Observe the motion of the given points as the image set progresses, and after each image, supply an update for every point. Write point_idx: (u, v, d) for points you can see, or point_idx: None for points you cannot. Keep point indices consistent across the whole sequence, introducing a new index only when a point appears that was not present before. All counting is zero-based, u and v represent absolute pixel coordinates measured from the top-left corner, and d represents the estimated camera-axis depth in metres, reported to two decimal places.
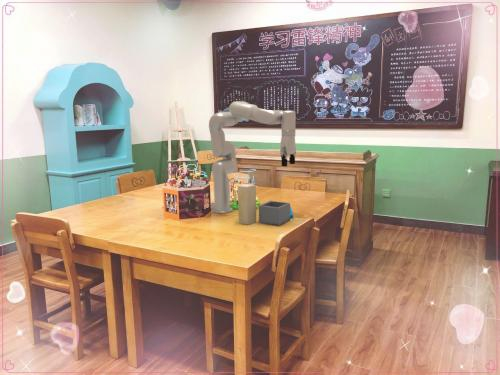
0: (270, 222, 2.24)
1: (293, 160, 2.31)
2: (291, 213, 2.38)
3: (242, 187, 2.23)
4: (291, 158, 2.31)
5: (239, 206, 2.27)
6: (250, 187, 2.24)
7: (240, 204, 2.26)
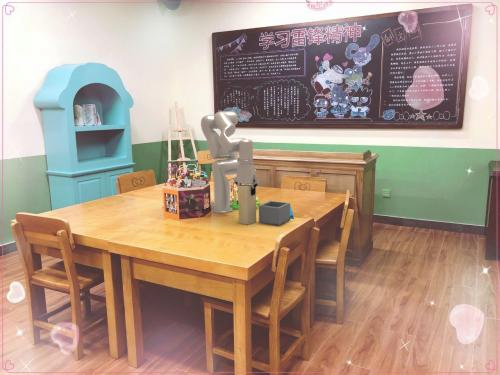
0: (270, 222, 2.24)
1: None
2: (291, 213, 2.38)
3: (242, 187, 2.23)
4: None
5: (239, 206, 2.27)
6: (250, 187, 2.23)
7: (240, 204, 2.26)
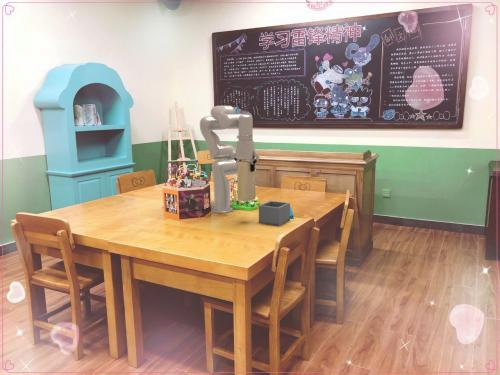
0: (270, 222, 2.24)
1: None
2: (291, 213, 2.38)
3: (241, 163, 2.21)
4: None
5: (238, 182, 2.25)
6: (249, 163, 2.21)
7: (239, 181, 2.24)
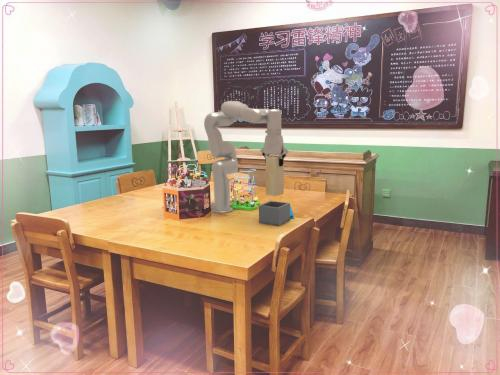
0: (270, 222, 2.24)
1: None
2: (291, 213, 2.37)
3: (270, 158, 2.20)
4: None
5: (267, 177, 2.24)
6: (278, 158, 2.21)
7: (268, 176, 2.23)
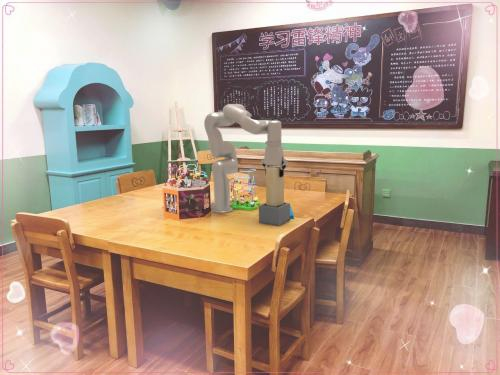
0: (270, 222, 2.24)
1: None
2: (291, 213, 2.37)
3: (270, 169, 2.21)
4: None
5: (267, 188, 2.25)
6: (278, 169, 2.22)
7: (268, 186, 2.24)
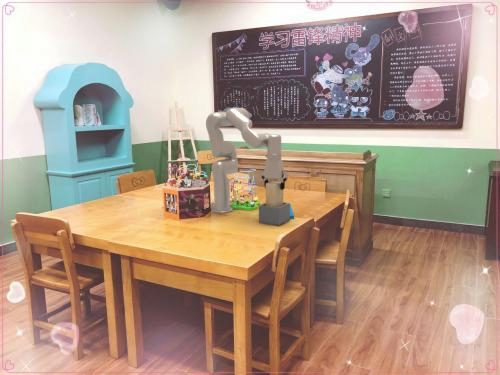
0: (270, 222, 2.24)
1: None
2: (292, 213, 2.37)
3: (270, 185, 2.23)
4: (267, 182, 2.28)
5: (267, 204, 2.27)
6: (278, 185, 2.24)
7: (268, 202, 2.26)
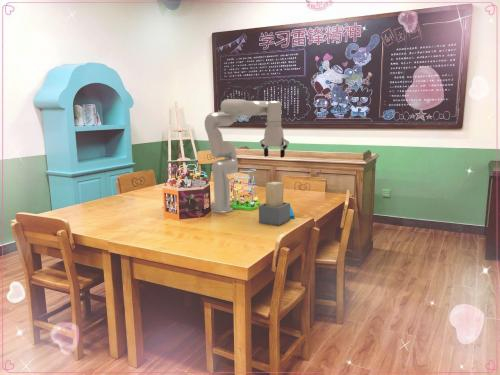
0: (270, 222, 2.24)
1: (267, 152, 2.26)
2: (292, 213, 2.37)
3: (270, 185, 2.23)
4: (266, 150, 2.25)
5: (267, 204, 2.27)
6: (278, 185, 2.24)
7: (268, 202, 2.26)
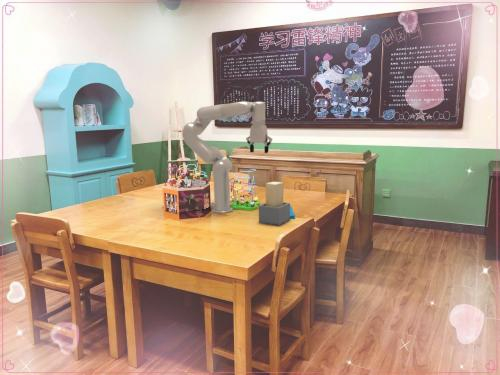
0: (270, 222, 2.24)
1: (253, 148, 2.48)
2: (292, 213, 2.37)
3: (270, 185, 2.23)
4: (252, 147, 2.47)
5: (267, 204, 2.27)
6: (278, 185, 2.24)
7: (268, 202, 2.26)
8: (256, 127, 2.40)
